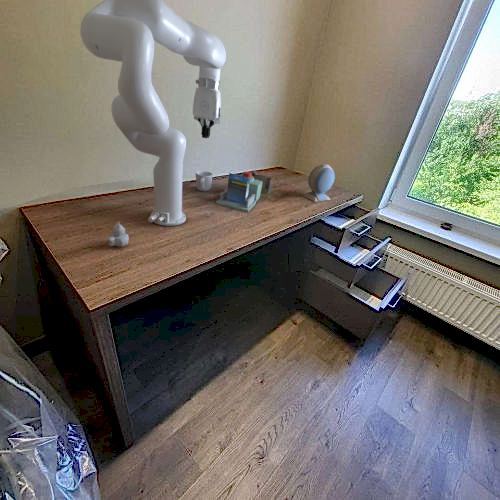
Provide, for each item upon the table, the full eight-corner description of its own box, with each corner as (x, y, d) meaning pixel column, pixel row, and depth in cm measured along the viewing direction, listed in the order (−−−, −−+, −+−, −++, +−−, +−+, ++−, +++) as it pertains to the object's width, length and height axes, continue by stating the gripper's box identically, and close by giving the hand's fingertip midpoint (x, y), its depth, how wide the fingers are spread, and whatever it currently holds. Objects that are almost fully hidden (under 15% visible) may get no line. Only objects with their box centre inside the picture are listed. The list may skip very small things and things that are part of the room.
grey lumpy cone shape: (134, 245, 84) (132, 221, 80) (114, 253, 79) (111, 228, 75) (122, 238, 87) (119, 215, 82) (102, 246, 82) (99, 222, 77)
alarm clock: (318, 193, 156) (327, 161, 147) (332, 199, 149) (342, 166, 140) (300, 195, 148) (309, 161, 139) (313, 202, 142) (323, 167, 133)
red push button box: (255, 202, 129) (258, 181, 124) (227, 195, 132) (229, 174, 127) (259, 197, 136) (263, 177, 131) (233, 190, 139) (235, 171, 134)
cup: (209, 195, 128) (210, 178, 124) (192, 193, 128) (192, 176, 124) (212, 188, 137) (213, 172, 133) (196, 185, 137) (197, 169, 133)
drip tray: (247, 212, 118) (249, 203, 116) (215, 203, 121) (216, 194, 119) (256, 203, 129) (257, 194, 127) (226, 195, 132) (227, 187, 130)
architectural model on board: (249, 187, 146) (251, 169, 141) (252, 186, 148) (254, 168, 143) (267, 194, 141) (270, 175, 136) (270, 193, 144) (273, 174, 139)
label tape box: (247, 202, 125) (251, 175, 119) (244, 204, 122) (248, 177, 115) (229, 197, 127) (232, 170, 120) (225, 200, 123) (228, 172, 117)
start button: (249, 178, 127) (249, 174, 126) (241, 177, 128) (242, 172, 127) (251, 176, 130) (252, 172, 129) (244, 175, 131) (244, 170, 130)
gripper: (185, 81, 101) (184, 134, 110) (223, 87, 98) (218, 142, 107) (195, 82, 107) (193, 133, 116) (231, 89, 104) (226, 140, 113)
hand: (205, 137), depth 111 cm, fingers closed
